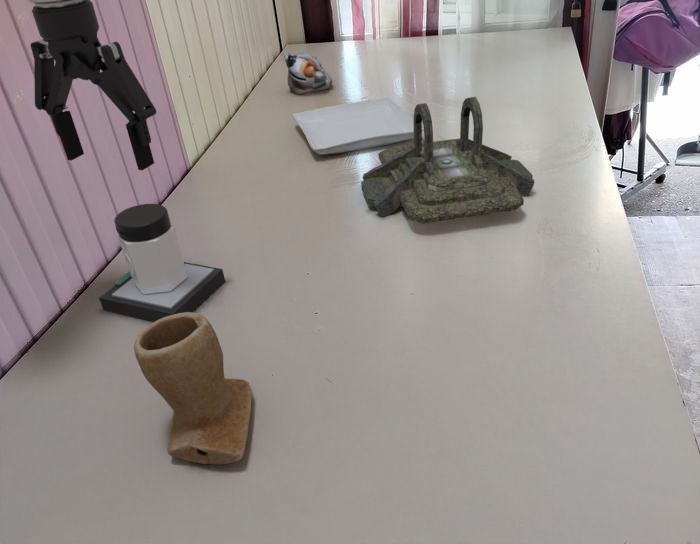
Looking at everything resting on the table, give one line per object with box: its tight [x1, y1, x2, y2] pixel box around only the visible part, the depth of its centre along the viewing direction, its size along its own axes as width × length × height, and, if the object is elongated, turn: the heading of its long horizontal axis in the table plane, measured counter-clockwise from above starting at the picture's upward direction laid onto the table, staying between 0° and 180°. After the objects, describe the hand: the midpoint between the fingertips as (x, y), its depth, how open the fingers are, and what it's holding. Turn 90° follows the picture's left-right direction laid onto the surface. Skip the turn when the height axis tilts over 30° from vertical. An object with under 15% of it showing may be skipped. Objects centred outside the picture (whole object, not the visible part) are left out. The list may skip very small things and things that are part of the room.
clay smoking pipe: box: [133, 311, 253, 465], centre depth 77 cm, size 15×12×15 cm
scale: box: [98, 261, 226, 323], centre depth 106 cm, size 15×14×3 cm
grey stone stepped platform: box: [360, 96, 535, 225], centre depth 125 cm, size 35×34×18 cm
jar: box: [113, 203, 187, 294], centre depth 102 cm, size 9×8×12 cm
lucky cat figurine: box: [283, 52, 333, 95], centre depth 189 cm, size 15×12×14 cm
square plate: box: [291, 97, 424, 155], centre depth 159 cm, size 27×27×4 cm
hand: (110, 161), depth 94 cm, fingers open, 13 cm apart
